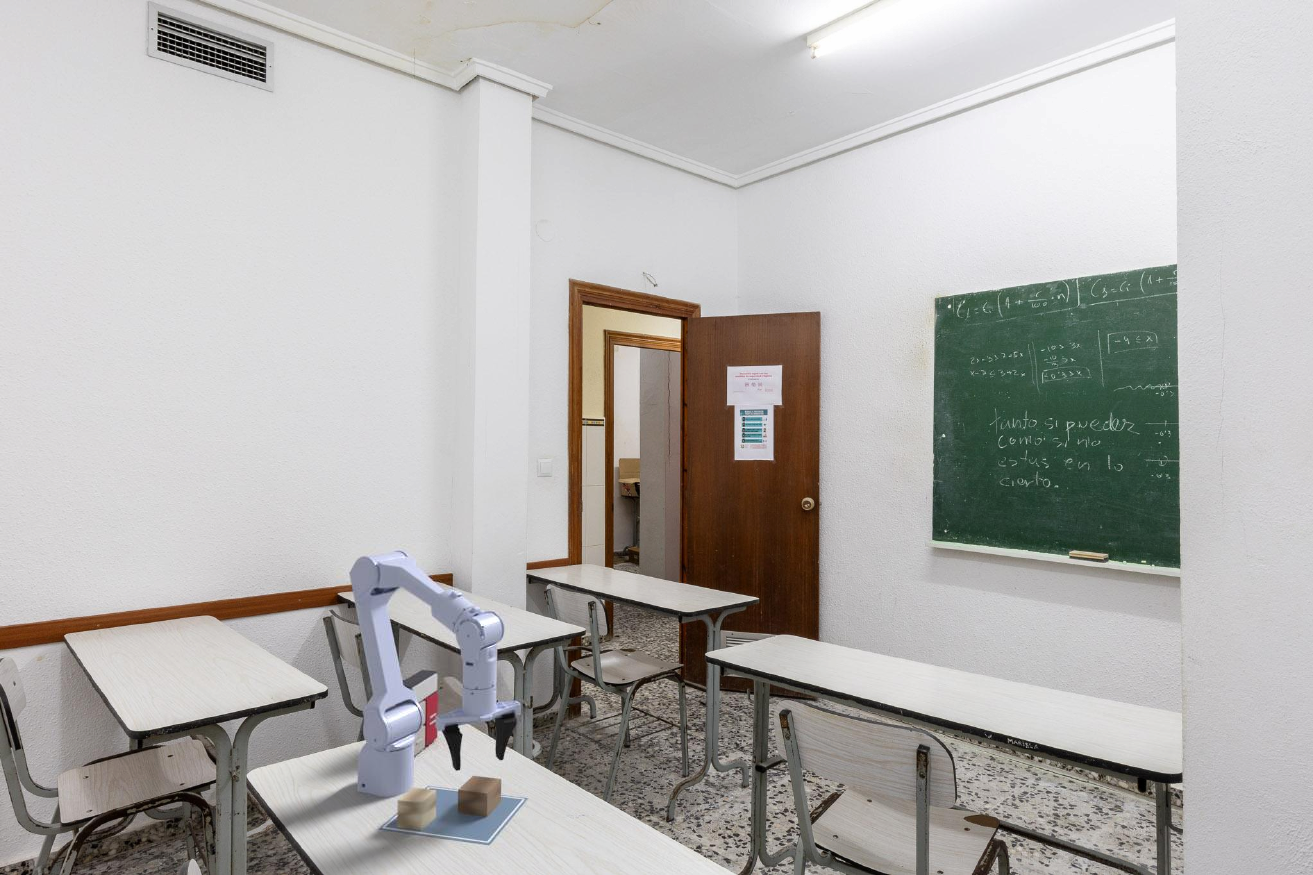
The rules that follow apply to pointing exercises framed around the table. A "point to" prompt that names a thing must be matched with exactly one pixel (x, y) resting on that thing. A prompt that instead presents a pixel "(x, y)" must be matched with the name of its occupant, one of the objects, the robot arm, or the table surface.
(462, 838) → the board
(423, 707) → the red and white box
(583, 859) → the table surface
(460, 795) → the walnut block
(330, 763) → the table surface
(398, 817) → the maple cube
